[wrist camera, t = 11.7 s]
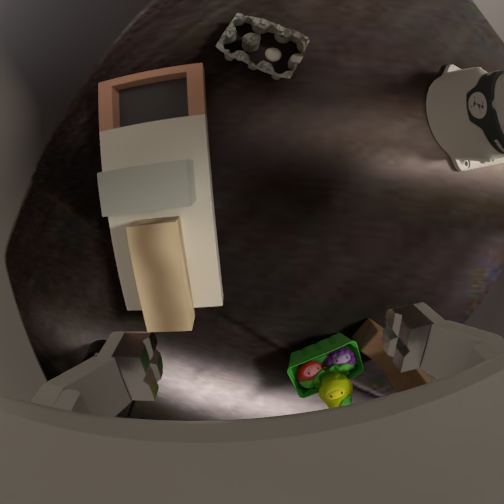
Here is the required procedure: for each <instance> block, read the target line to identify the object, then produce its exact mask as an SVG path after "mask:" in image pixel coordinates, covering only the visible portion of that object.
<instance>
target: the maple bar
mask: <svg viewBox="0 0 504 504" xmlns="http://www.w3.org/2000/svg"><path fill="white" fill-rule="evenodd" d="M126 232H127V238H128V244H129V249H130V255H131V260H132V266H133V271H134V276H135V280H136V285H137V290H138V294H139V299H140V303H141V307H142V311H143V315H144V319H145V323H146V327H147V331H148V332H167V331H192V327H193V323H194V318H195V311H194V305H193V299H192V293H191V287H190V280H189V273H188V267H187V259H186V252H185V245H184V237H183V229H182V221H181V215H180V216H171V217H161V218H152V219H143V220H136V221H134V222H133V223H131V224H130V225H128V226H127V227H126Z"/></svg>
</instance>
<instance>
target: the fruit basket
mask: <svg viewBox="0 0 504 504" xmlns="http://www.w3.org/2000/svg"><path fill="white" fill-rule="evenodd" d="M362 372H363V365H362V361H361V357H360V353H359V349H358V346H357V343H356V342H355V341H353V340H350V339H349V338H347V337H346V336H344V335H343V334H341V333H337V334H335V335H333V336H331V337H330V338H326V339H324V340H321V341H319V342H318V343H316V344H312V345H310V346H307V347H305V348H303V349H302V350H298V351H295V352H292V353H291V356H290V362H289V367H288V370H287V373H288V375H289V377H290V379H291V381H292V383H293V385H294V387H295V389H296V391H297V393H298V395H299V397H301V398H305V397H308V396H310V395H313V394H316V393H318V392H319V396H320V398H321V399H322V400H323V401H324V402H325V403H326V404H327V405H328V407H329V408H335V407H340V406H345V405H349V404H352V396H351V394H352V390H353V386H352V383H351V382H350V380H349V379H351V378H353V377H355V376H357V375H359V374H361V373H362Z"/></svg>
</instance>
